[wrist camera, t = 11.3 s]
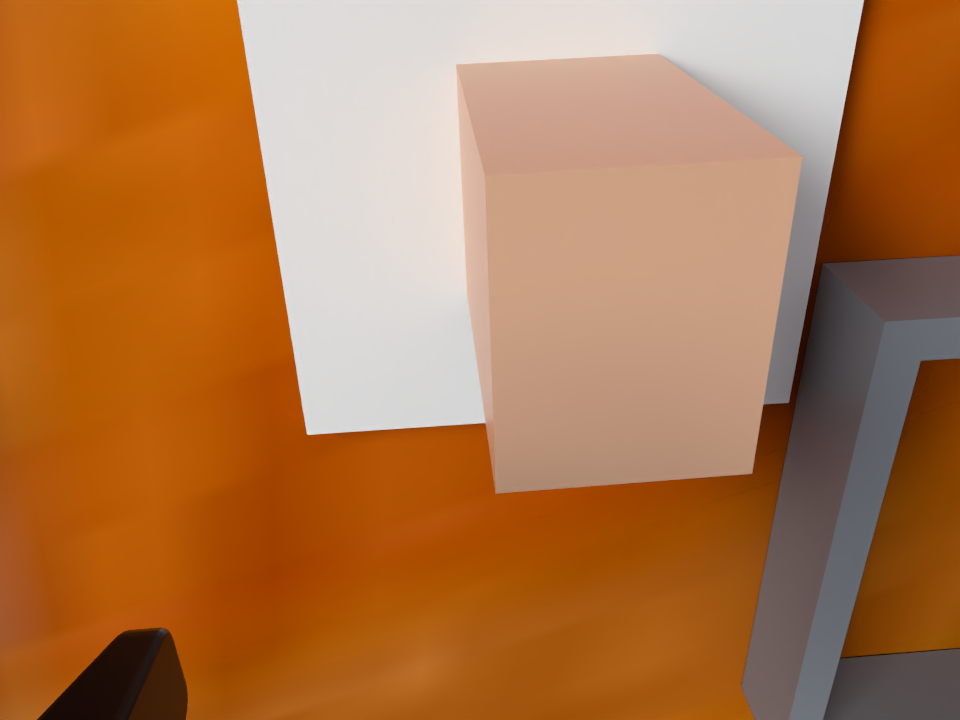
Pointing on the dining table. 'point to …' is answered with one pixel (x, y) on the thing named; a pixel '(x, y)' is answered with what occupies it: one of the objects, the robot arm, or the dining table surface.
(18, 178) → the dining table surface
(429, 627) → the dining table surface
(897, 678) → the grey tray
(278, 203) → the white flat square slab
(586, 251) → the block
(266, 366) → the dining table surface
